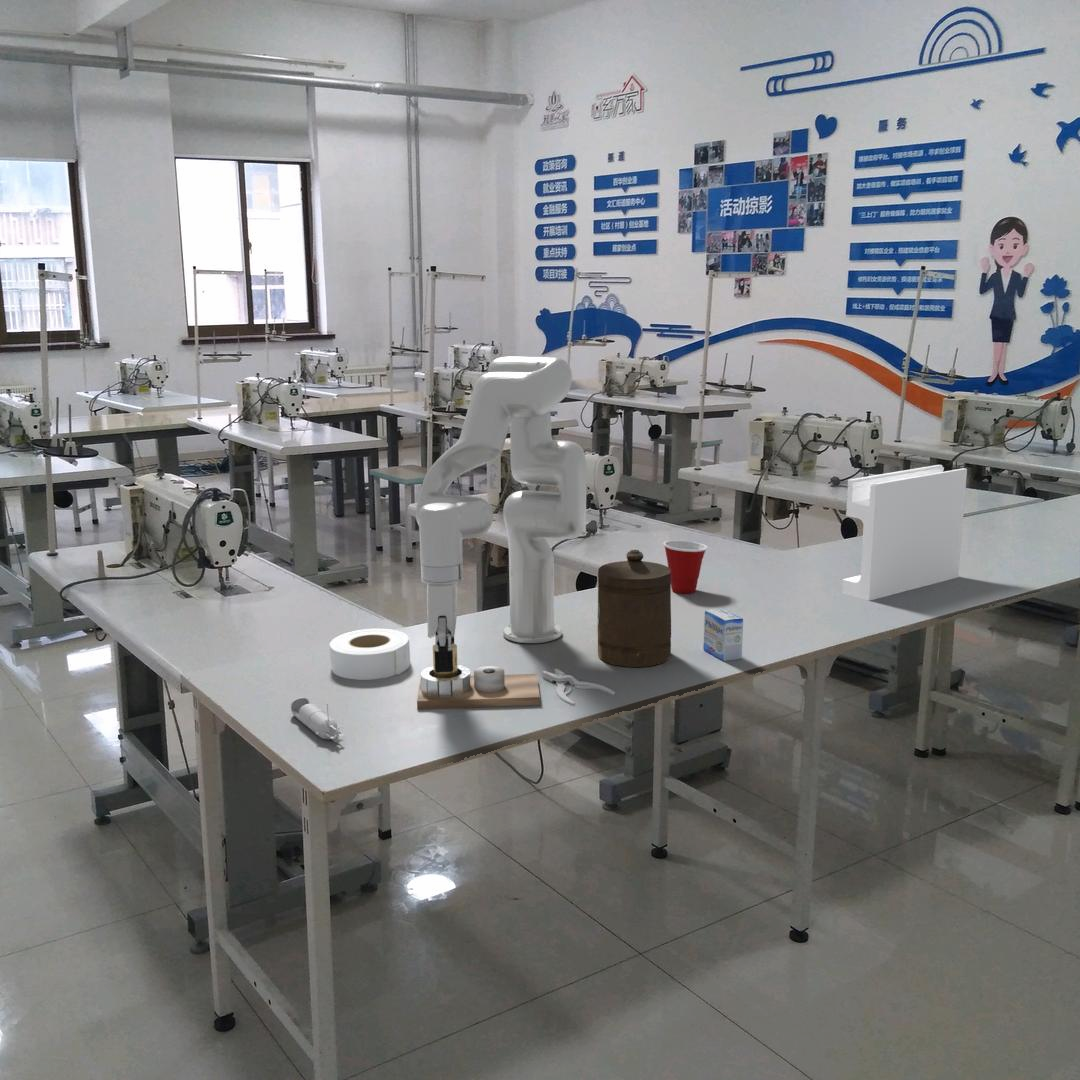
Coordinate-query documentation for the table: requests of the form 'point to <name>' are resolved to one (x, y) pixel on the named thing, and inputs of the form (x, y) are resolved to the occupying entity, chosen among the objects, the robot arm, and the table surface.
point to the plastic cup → (684, 564)
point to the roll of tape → (370, 654)
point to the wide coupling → (445, 683)
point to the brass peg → (455, 666)
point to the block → (907, 529)
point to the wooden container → (634, 612)
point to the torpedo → (316, 719)
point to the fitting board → (489, 691)
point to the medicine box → (723, 634)
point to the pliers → (563, 679)
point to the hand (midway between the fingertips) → (445, 662)
